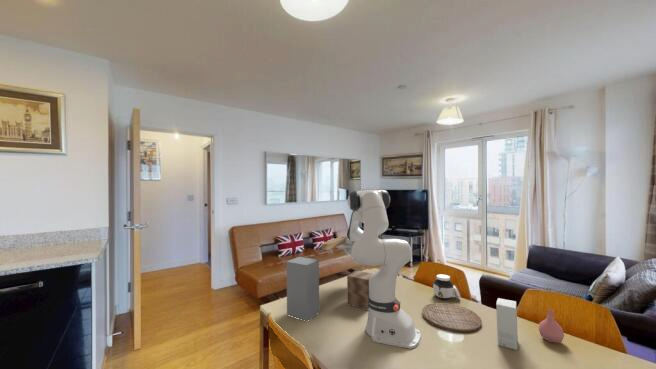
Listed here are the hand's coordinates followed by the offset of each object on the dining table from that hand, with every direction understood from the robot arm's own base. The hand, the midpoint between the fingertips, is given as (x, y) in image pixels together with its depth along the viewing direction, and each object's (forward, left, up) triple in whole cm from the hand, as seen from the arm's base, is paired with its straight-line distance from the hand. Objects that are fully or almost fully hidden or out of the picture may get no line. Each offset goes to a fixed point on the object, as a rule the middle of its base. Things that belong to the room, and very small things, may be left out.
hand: (341, 239), depth 147 cm
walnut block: (-14, +3, -32) cm, 35 cm away
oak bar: (0, +7, -2) cm, 7 cm away
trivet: (-56, -3, -32) cm, 64 cm away
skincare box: (-77, +7, -32) cm, 83 cm away
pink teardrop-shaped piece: (-92, -3, -32) cm, 97 cm away
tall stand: (+6, +28, -32) cm, 43 cm away
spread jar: (-52, -27, -32) cm, 66 cm away
